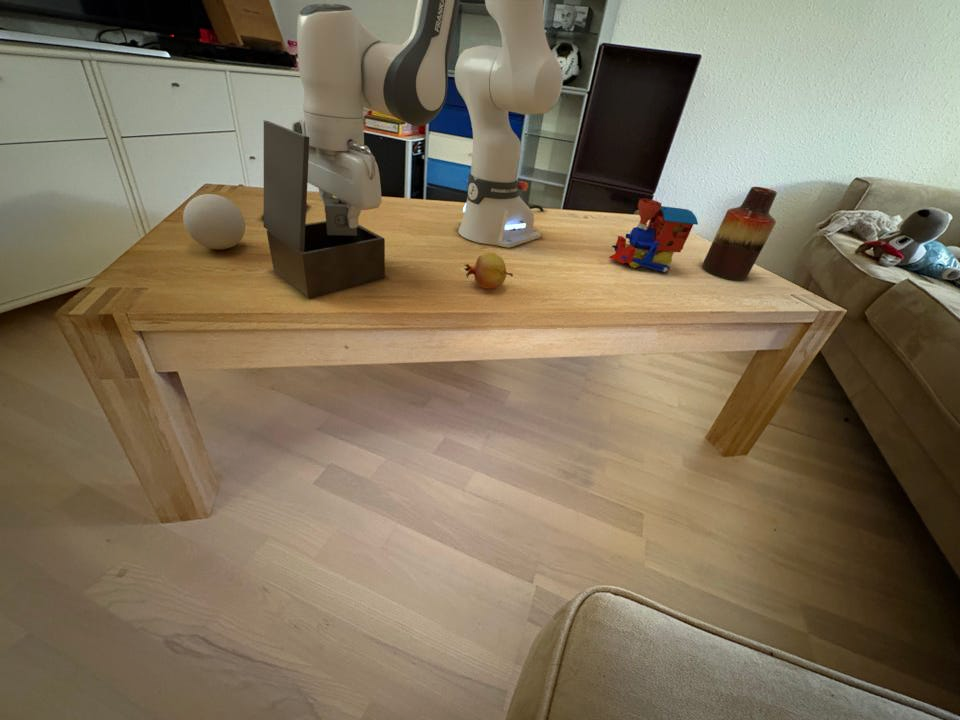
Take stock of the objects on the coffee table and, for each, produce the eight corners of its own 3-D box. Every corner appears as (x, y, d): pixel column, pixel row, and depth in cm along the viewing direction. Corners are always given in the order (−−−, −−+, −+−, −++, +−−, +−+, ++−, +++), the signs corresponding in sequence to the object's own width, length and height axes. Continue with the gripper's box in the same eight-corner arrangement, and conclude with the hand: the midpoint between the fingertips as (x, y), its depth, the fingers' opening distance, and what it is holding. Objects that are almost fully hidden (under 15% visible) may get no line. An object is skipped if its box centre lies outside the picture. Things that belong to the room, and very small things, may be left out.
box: (348, 255, 86) (346, 217, 81) (385, 278, 80) (384, 238, 75) (273, 271, 76) (266, 229, 72) (308, 298, 70) (302, 254, 65)
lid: (268, 121, 64) (263, 120, 63) (309, 137, 58) (304, 136, 57) (268, 227, 72) (263, 227, 71) (304, 251, 65) (299, 251, 65)
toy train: (676, 276, 100) (703, 213, 91) (613, 270, 98) (635, 205, 89) (659, 259, 108) (682, 200, 100) (601, 253, 106) (619, 193, 98)
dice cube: (327, 235, 72) (324, 205, 70) (327, 225, 76) (324, 197, 73) (357, 235, 74) (355, 207, 71) (355, 226, 78) (354, 198, 75)
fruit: (512, 252, 83) (463, 248, 81) (521, 257, 77) (468, 253, 75) (507, 286, 85) (460, 283, 83) (516, 293, 79) (465, 290, 77)
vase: (692, 264, 109) (729, 182, 97) (722, 262, 112) (760, 184, 101) (725, 281, 101) (769, 195, 89) (755, 280, 105) (801, 196, 93)
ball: (196, 260, 76) (179, 204, 70) (187, 241, 82) (172, 188, 76) (255, 253, 81) (245, 201, 75) (243, 236, 87) (233, 186, 81)
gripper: (390, 147, 63) (391, 236, 71) (320, 123, 73) (327, 203, 81) (354, 148, 59) (358, 242, 67) (285, 122, 69) (296, 206, 77)
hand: (341, 220), depth 74 cm, fingers closed on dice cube, 5 cm apart
